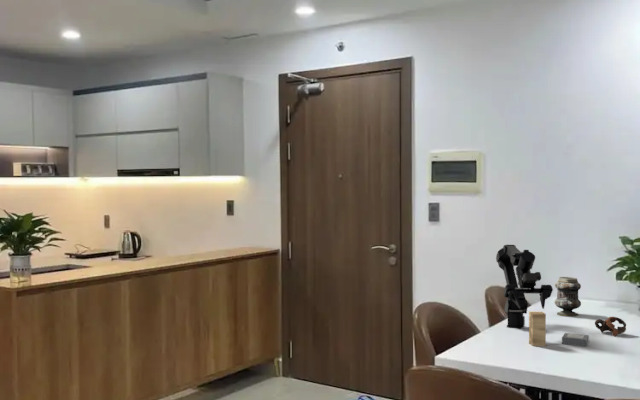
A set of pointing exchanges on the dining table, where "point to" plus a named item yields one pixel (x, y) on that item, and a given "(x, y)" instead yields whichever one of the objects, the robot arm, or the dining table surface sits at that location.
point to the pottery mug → (611, 325)
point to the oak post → (537, 328)
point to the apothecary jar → (567, 295)
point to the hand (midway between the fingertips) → (531, 308)
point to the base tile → (575, 339)
